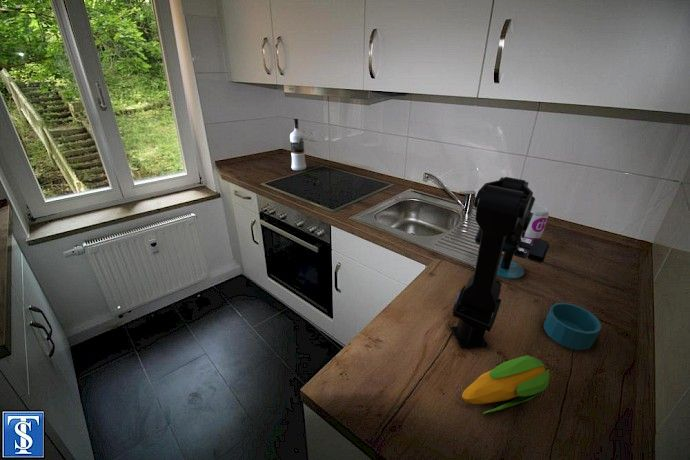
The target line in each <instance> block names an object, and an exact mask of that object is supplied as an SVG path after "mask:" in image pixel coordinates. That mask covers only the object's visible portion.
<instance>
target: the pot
mask: <svg viewBox="0 0 690 460" xmlns="http://www.w3.org/2000/svg"><path fill="white" fill-rule="evenodd" d="M543 329H544V332H545V333H546V335H547V336H549V338H551V339H552V340H553V341H554V342H556V343H557V344H559V345H561V346H563V347H565V348H568V349H571V350H577V351H584V350H585V351H586V350H588V349H590V348H591V347H592V346H593V345H594V343H595V341H596V340H597V338H598V336H599V334H600V332H601V331H602V323H601V321H600V320H599V318H598V317H597V316H596V315H594V314H593V313H592V312H591V311H590V310H587V309H586V308H584V307H581V306H580V305H579V306H578V305H576V304H573V303H567V302H556V303H554V304H552V305H550V308H549V311H548V312H547V315H546V318H545V320H544V323H543Z"/></svg>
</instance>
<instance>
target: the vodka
mask: <svg viewBox="0 0 690 460" xmlns="http://www.w3.org/2000/svg"><path fill="white" fill-rule="evenodd" d="M289 142H290V151H291V152H290V155H291V165H290V166H291V170H293V171H296V172H300V171H301V172H302V171H304V170H306V169H307V163H306V152H305V134H304V133H303V132H302V131H301V130H300V129H299V119H298V118H293V131H292V132H291V133H290V134H289Z"/></svg>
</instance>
